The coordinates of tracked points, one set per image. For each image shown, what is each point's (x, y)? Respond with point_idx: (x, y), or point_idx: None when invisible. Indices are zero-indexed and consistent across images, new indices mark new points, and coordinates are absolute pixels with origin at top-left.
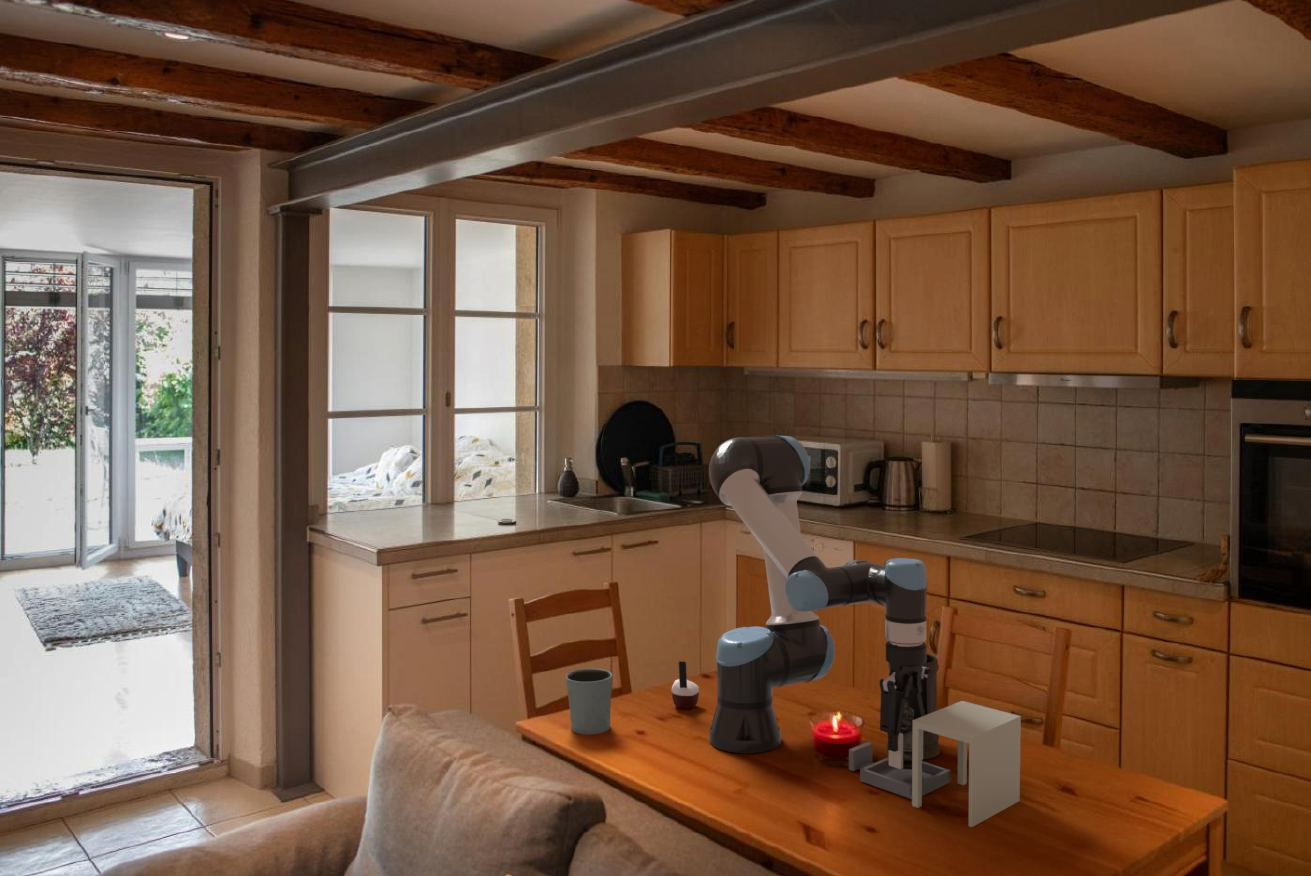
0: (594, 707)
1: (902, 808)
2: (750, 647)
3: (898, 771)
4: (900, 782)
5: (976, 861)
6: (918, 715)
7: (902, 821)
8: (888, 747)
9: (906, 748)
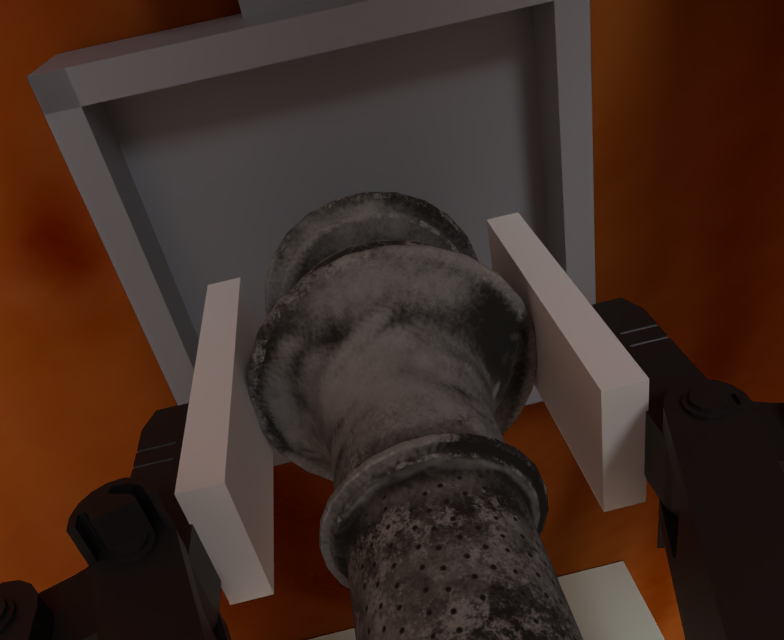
0: None
1: (100, 464)
2: None
3: (397, 134)
4: (186, 400)
5: None
6: (677, 573)
7: (12, 556)
8: (142, 437)
9: (323, 456)
